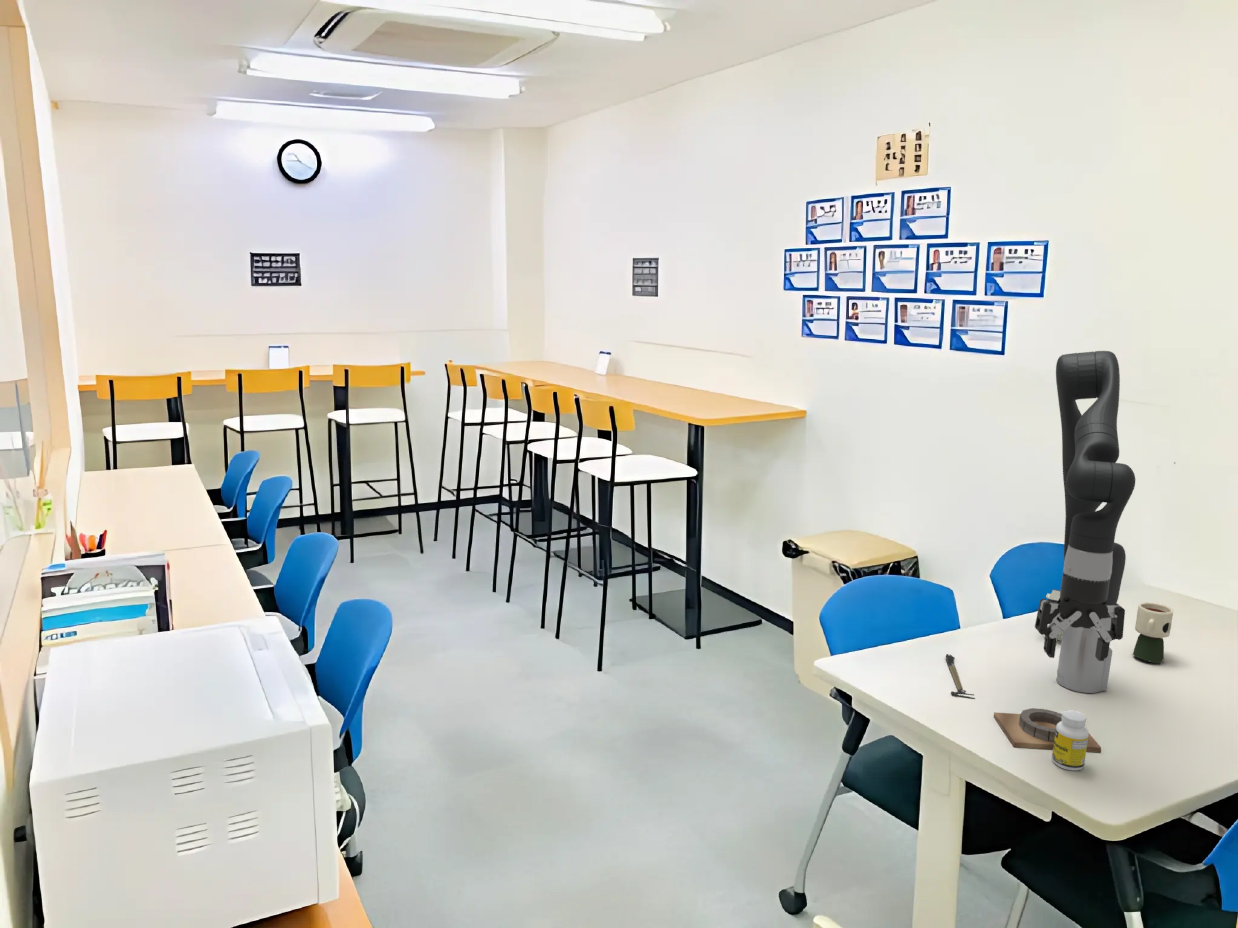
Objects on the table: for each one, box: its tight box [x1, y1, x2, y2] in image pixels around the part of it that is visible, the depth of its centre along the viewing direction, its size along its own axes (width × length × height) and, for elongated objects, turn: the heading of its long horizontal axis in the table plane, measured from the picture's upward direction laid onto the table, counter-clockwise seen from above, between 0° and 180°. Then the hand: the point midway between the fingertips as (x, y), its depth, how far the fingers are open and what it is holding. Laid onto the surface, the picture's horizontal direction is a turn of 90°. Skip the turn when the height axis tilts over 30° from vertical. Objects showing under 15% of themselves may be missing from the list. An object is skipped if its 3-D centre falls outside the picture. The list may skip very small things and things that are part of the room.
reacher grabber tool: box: [945, 653, 976, 700], centre depth 205 cm, size 21×7×1 cm, turn 166°
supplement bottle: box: [1051, 709, 1090, 771], centre depth 169 cm, size 5×5×10 cm
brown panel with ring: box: [993, 707, 1102, 753], centre depth 180 cm, size 16×12×3 cm
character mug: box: [1132, 602, 1174, 664], centre depth 215 cm, size 11×7×13 cm, turn 142°
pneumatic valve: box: [1045, 588, 1064, 642], centre depth 227 cm, size 6×12×12 cm, turn 148°
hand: (1074, 657), depth 166 cm, fingers open, 8 cm apart
